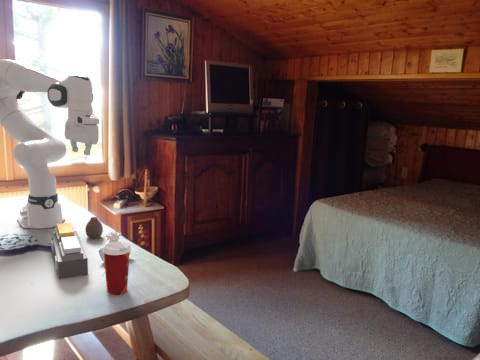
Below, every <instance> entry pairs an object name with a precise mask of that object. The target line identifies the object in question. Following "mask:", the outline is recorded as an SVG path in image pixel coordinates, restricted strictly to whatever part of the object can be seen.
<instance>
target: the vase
mask: <svg viewBox="0 0 480 360" xmlns="http://www.w3.org/2000/svg"><path fill="white" fill-rule="evenodd" d="M103 232H104V229H103V224H102V223H101V221H100V220H99V218H98V217H96V216H93V217H90V219H89V221H88V222H87V224H86V225H85V234H86V236H87V238H89V239H90V240H96V239H99V238H101V236H102V234H103Z"/></svg>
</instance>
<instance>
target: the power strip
mask: <svg viewBox="0 0 480 360" xmlns="http://www.w3.org/2000/svg"><path fill="white" fill-rule="evenodd" d="M72 227H73V225H72ZM73 230H74V227H73ZM50 234H51V235H50V236H51V240H50V243H51V252H52V255H53V258H54V267H55V271H56V272H57V278H58V279H59V280H61V279H62V280H63V279H69V278H76V277H82V276H87V275H89V262H88V260H89V259H88V255H87V253H86V252H85V249H84V248H85V247H84V246H83V244H82V241H81V239H80V236H79V234H78V232H77V230H74V236H76V237H77V239H78V242H79V244H80V247H81V252H77V253H69V254H65V253H64V250H63V247H62V243H61V238H62V237H61V238H60V237H59V233H58V230H57V227H54V232H52V233H50ZM70 237H71V236H70Z"/></svg>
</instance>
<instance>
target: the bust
mask: <svg viewBox="0 0 480 360" xmlns="http://www.w3.org/2000/svg"><path fill="white" fill-rule="evenodd" d="M121 236H122V232H118V231H117V232H116V231H114V230H113V231H112V230H111V231H109V232H108V233H107V234H106V235H105V238H107V241H108V243H112V242H120V243H121V242H122V241H119V240H120V237H121ZM105 245H106V244H104V245H103V246H101V247H100V248H99V249H98V253H99V254H98V255H99V256H100V259H101V261H102V262H104V263H105V260H104V253H103V249H104V246H105ZM129 247H130V249H131V250H130V252H129V256H130V255H131V251H132V247H131V244H129Z"/></svg>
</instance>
